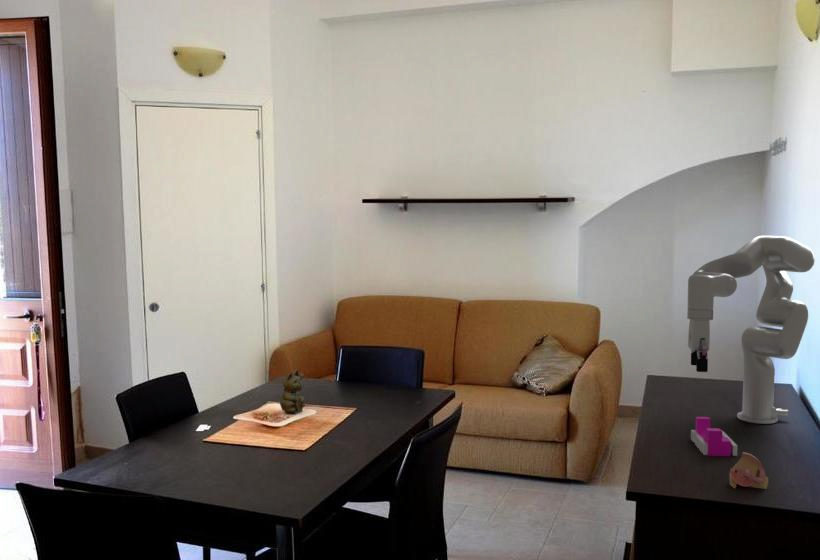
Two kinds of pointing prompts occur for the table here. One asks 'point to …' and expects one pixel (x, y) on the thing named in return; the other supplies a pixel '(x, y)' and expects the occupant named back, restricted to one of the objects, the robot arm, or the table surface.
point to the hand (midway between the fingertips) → (698, 368)
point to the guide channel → (704, 446)
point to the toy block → (713, 438)
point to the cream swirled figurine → (748, 472)
